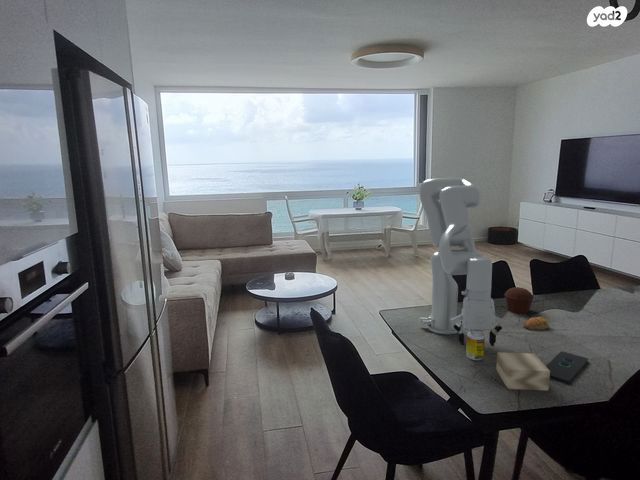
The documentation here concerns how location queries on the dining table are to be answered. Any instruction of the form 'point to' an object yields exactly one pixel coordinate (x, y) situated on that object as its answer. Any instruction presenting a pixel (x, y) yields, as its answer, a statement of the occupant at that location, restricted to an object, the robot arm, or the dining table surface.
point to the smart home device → (566, 367)
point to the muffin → (518, 300)
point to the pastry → (536, 323)
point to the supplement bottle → (475, 344)
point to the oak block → (523, 371)
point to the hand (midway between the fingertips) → (476, 344)
